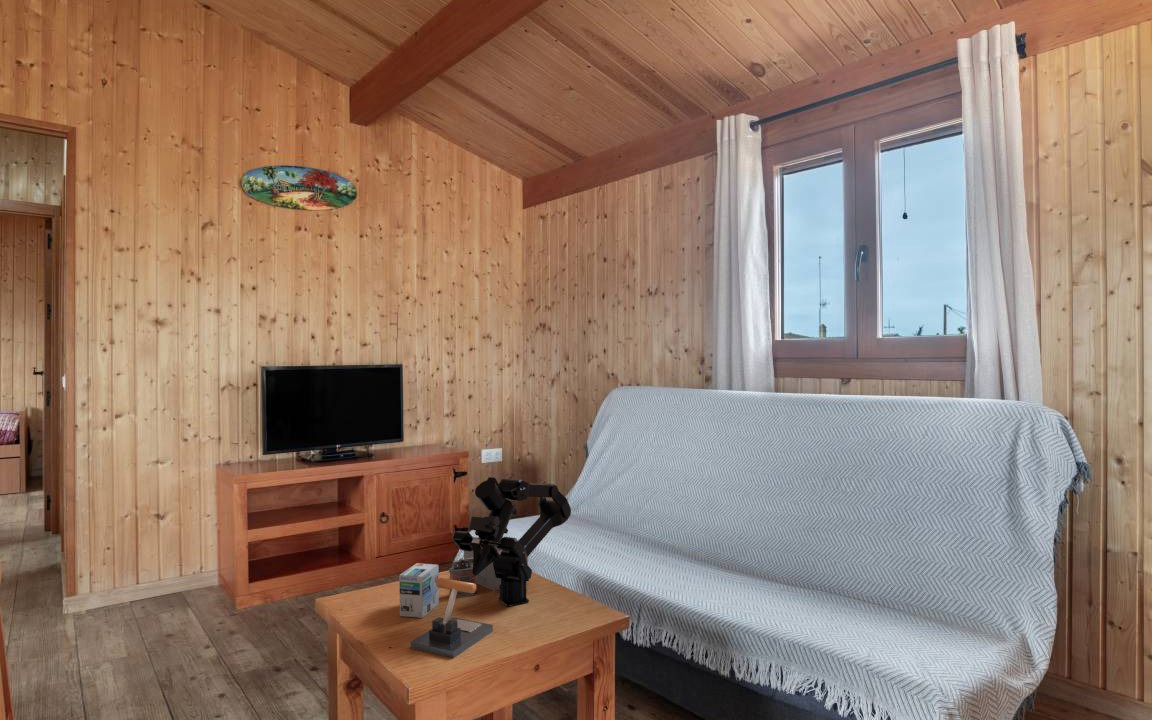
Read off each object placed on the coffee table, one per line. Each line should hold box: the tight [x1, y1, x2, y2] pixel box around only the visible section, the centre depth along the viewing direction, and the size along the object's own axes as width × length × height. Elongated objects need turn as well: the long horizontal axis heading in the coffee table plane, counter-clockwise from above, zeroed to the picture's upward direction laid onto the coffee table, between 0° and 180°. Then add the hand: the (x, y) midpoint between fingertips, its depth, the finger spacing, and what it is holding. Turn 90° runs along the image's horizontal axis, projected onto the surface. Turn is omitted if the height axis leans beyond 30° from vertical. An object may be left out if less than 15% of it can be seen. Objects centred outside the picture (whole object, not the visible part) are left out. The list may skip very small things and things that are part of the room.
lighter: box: [448, 557, 479, 598], centre depth 187 cm, size 8×3×10 cm, turn 114°
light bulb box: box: [398, 562, 440, 619], centre depth 175 cm, size 11×7×11 cm, turn 168°
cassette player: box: [463, 550, 501, 592], centre depth 196 cm, size 16×3×10 cm, turn 43°
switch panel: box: [409, 616, 494, 659], centre depth 157 cm, size 16×12×6 cm
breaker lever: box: [436, 577, 476, 625], centre depth 156 cm, size 2×10×10 cm, turn 64°
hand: (474, 574), depth 165 cm, fingers closed
